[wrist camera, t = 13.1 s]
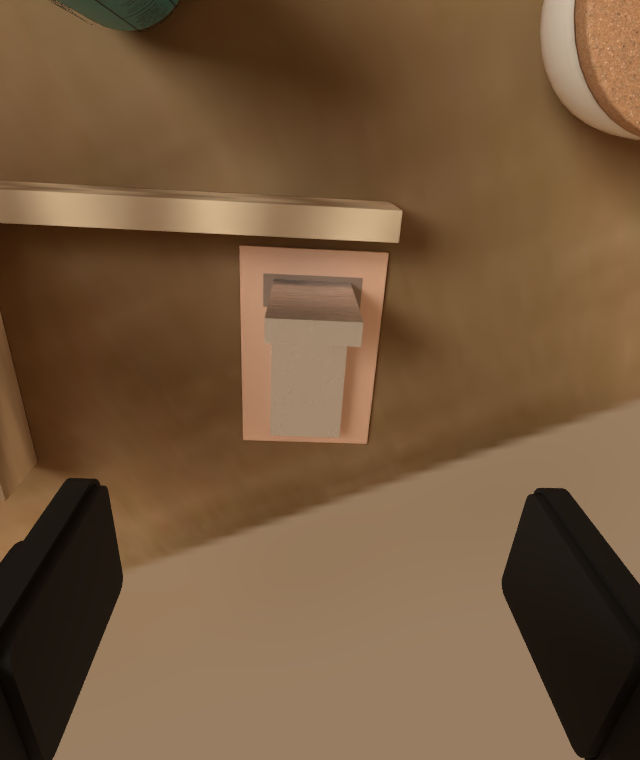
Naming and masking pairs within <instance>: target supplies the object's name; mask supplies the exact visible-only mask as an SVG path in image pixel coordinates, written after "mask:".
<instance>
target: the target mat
mask: <svg viewBox="0 0 640 760" xmlns="http://www.w3.org/2000/svg"><path fill="white" fill-rule="evenodd" d="M239 249H240V301H241V354H242V407H243V440H260V441H294V442H328V443H362V444H367V438H368V429H369V421H370V412H371V403H372V395H373V386H374V377H375V368H376V360H377V351H378V342H379V334H380V325H381V316H382V307H383V299H384V290H385V281H386V272H387V264H388V255H389V253H388V252H369V251H349V250H328V249H308V248H288V247H267V246H247V245H240V246H239ZM273 279H286V280H307V281H328V282H349V283H351V286H352V289H353V292H354V295H355V298H356V301H357V304H358V307H359V310H360V313H361V316H362V319H363V333H362V342H361V347H352V346H347V355H346V366H345V377H344V389H343V400H342V412H341V423H340V435H339V438H336V437H305V436H273V435H270V428H271V350H272V343H264V342H265V314H266V310H267V306H268V301H269V297H270V292H271V288H272V284H273Z"/></svg>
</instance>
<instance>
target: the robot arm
mask: <svg viewBox="0 0 640 760" xmlns="http://www.w3.org/2000/svg"><path fill="white" fill-rule="evenodd" d="M122 582H123V573H122V567H121V562H120V556H119V550H118V544H117V539H116V533H115V527H114V521H113V516H112V510H111V504H110V498H109V493H108V489H107V487H106V486H100V483H99V481H98V480H97V479H84V478H69V479H67V480H66V481H65V482H64V483H63V485H62V486H61V488H60V489H59V491H58V492H57V493H56V495H55V496H54V498H53V499H52V501H51V502H50V503H49V505H48V506H47V508H46V509H45V511H44V512H43V514H42V515H41V516H40V518H39V519H38V521H37V522H36V524H35V525H34V526H33V528H32V529H31V531H30V532H29V534H28V535H27V536H26V538H25V539H24V541H20V542H18V543H16V544H15V545H14V546H13V547H12V548H11V549H10V550H9V552H8V553H7V554H6V556H5V557H4V559H3V560H2V561H1V563H0V760H52V759H53V757H54V755H55V753H56V751H57V748H58V746H59V743H60V741H61V738H62V736H63V733H64V731H65V728H66V726H67V723H68V721H69V718H70V716H71V713H72V711H73V708H74V706H75V704H76V701H77V698H78V696H79V694H80V691H81V688H82V686H83V684H84V681H85V679H86V676H87V674H88V671H89V669H90V666H91V664H92V661H93V659H94V656H95V654H96V651H97V649H98V646H99V644H100V641H101V639H102V636H103V634H104V631H105V629H106V626H107V624H108V621H109V619H110V616H111V614H112V612H113V609H114V606H115V604H116V601H117V599H118V597H119V594H120V591H121V588H122ZM502 589H503V593H504V596H505V599H506V601H507V603H508V605H509V608H510V610H511V612H512V614H513V616H514V619H515V621H516V623H517V625H518V627H519V630H520V632H521V634H522V636H523V639H524V641H525V643H526V645H527V648H528V650H529V652H530V654H531V656H532V659H533V661H534V663H535V665H536V668H537V670H538V672H539V674H540V676H541V679H542V681H543V683H544V686H545V688H546V690H547V692H548V694H549V697H550V698H551V701H552V703H553V705H554V708H555V710H556V712H557V714H558V717H559V719H560V721H561V723H562V726H563V728H564V730H565V732H566V734H567V737H568V739H569V741H570V743H571V746H572V748H573V749H574V751H575V752H576V754H577V755H578V756H579V757H581V758H585V760H640V584H639V583H638V582H637V580H636V579H635V578H634V577H633V575H632V574H631V573H630V571H629V570H628V569H627V567H626V566H625V565H624V564H623V562H622V561H621V560H620V558H619V557H618V556H617V554H616V553H615V552H614V551H613V549H612V548H611V547H610V545H609V544H608V543H607V542H606V541H605V539H604V538H603V536H602V535H601V534H600V532H599V531H598V530H597V528H596V527H595V526H594V525H593V523H592V522H591V521H590V519H589V518H588V517H587V515H586V514H585V513H584V511H583V510H582V509H581V507H580V506H579V505H578V504H577V502H576V501H575V500H574V498H573V497H572V496H571V495H570V493H569V492H568V491H567V490H566V489H563V488H538V489H536V490H535V492H534V494H530V495H528V497H527V499H526V502H525V505H524V508H523V512H522V515H521V518H520V521H519V525H518V528H517V531H516V534H515V538H514V541H513V544H512V548H511V551H510V554H509V557H508V561H507V564H506V568H505V570H504V574H503V577H502Z"/></svg>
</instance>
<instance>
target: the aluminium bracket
mask: <svg viewBox="0 0 640 760" xmlns="http://www.w3.org/2000/svg"><path fill="white" fill-rule="evenodd" d="M362 333H363V319H362V316H361V313H360V310H359V307H358V304H357V301H356V298H355V295H354V292H353V289H352V286H351V283H349V282H328V281H307V280H286V279H273V284H272V288H271V292H270V297H269V301H268V306H267V310H266V314H265V342H264V343H272V350H271V428H270V435H273V436H305V437H336V438H339V435H340V423H341V412H342V400H343V389H344V377H345V366H346V355H347V346H352V347H361V342H362Z"/></svg>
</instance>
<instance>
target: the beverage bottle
mask: <svg viewBox="0 0 640 760" xmlns="http://www.w3.org/2000/svg"><path fill="white" fill-rule="evenodd" d="M48 1H49V0H48ZM53 1H55V2H54V3H56V0H53ZM58 1H59V2H61V3H62V4H65V5H66V6H67V7H70V8H72V9H73V10H75V11H77V12H78V13H80V14H82V15H84V16H85V17H87V18H89V19H91V20H92V21H94V22H96V23H98V24H100V25H102V26H105V27H108V28H111V29H115V30H122V31H133V30H138V31H139V32H143V31H140V29H144V28H147V27H150V26H152V25H154V24H156V23H157V22H159V21H160V20H162V19H163V18H164V17H166V16H167V15H168V14H169V13H170V12H171V10H172V9H173V8H174V7H177V6H178V5H177V6H176V4H177V2H178V1H179V0H58ZM180 1H181V0H180ZM50 2H51V1H50ZM52 3H53V2H52ZM61 3H60V4H61ZM179 3H180V2H179ZM179 3H178V4H179ZM60 4H59V5H58V4H57V6H59V7H60ZM62 4H61V5H62ZM65 5H64V6H65ZM64 6H63V5H62V6H61V7H63V9H64ZM175 9H176V8H175ZM175 9H174V10H175ZM65 10H66V9H65ZM174 10H173V11H174ZM66 11H67V10H66ZM173 11H172V12H173ZM68 12H69V11H68ZM72 14H73V12H72ZM171 14H172V13H171ZM171 14H170V15H171ZM170 15H169V16H170ZM75 16H77V14H76V15H75ZM169 16H168V17H169ZM77 17H78V16H77ZM168 17H167V18H168ZM167 18H166V19H167ZM82 20H83V19H82ZM84 21H85V20H84ZM162 22H163V21H162ZM162 22H161V23H162ZM159 24H160V23H159ZM159 24H158V25H159ZM91 25H92V24H91ZM156 26H157V25H156ZM156 26H154V27H156ZM154 27H152V28H154ZM150 29H151V28H150ZM148 30H149V29H148ZM145 31H147V30H145Z"/></svg>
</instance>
